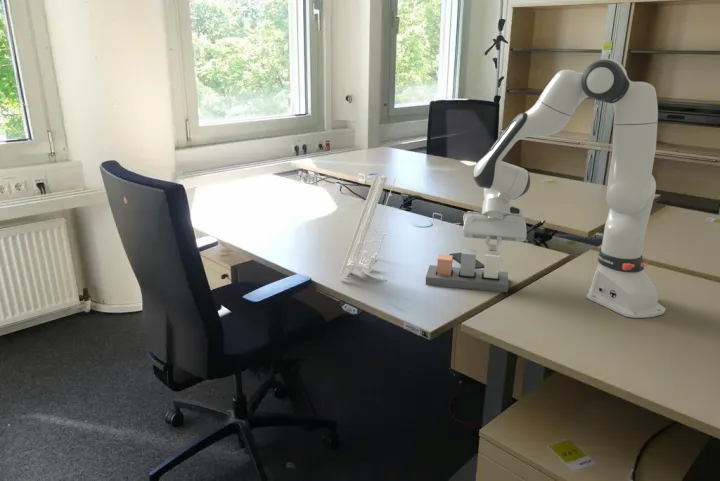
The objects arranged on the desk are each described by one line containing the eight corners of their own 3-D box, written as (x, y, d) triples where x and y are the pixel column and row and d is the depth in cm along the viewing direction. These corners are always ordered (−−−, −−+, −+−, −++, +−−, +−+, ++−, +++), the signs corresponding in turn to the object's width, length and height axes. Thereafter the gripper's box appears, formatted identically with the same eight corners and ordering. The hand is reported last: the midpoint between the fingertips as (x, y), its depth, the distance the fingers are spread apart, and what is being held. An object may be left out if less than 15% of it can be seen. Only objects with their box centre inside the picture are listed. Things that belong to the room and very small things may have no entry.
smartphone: (468, 268, 186) (448, 253, 199) (468, 271, 186) (447, 256, 199) (486, 266, 188) (465, 251, 201) (486, 268, 188) (465, 254, 201)
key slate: (474, 271, 176) (476, 250, 174) (474, 276, 172) (475, 254, 170) (460, 270, 177) (462, 248, 175) (459, 275, 173) (461, 253, 171)
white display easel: (371, 268, 197) (404, 179, 190) (402, 284, 191) (437, 193, 183) (336, 272, 177) (372, 173, 169) (370, 291, 170) (408, 188, 163)
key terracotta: (451, 276, 179) (452, 255, 176) (450, 281, 175) (451, 260, 172) (438, 275, 180) (439, 254, 178) (436, 280, 176) (437, 259, 173)
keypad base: (507, 279, 178) (507, 272, 177) (507, 292, 168) (508, 285, 167) (429, 271, 184) (429, 265, 183) (425, 284, 174) (425, 277, 173)
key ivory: (497, 273, 175) (499, 251, 172) (497, 278, 171) (499, 256, 168) (483, 272, 176) (485, 250, 173) (483, 277, 172) (485, 255, 169)
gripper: (463, 206, 176) (459, 243, 170) (528, 210, 171) (526, 248, 165) (463, 215, 181) (459, 251, 176) (526, 219, 177) (524, 257, 171)
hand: (492, 250), depth 170 cm, fingers closed
